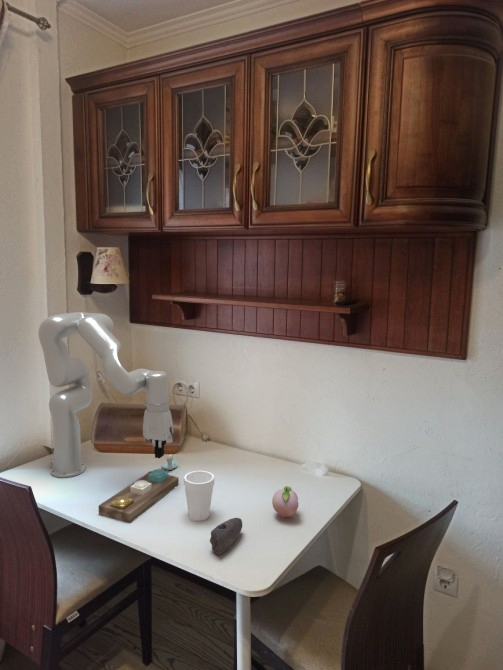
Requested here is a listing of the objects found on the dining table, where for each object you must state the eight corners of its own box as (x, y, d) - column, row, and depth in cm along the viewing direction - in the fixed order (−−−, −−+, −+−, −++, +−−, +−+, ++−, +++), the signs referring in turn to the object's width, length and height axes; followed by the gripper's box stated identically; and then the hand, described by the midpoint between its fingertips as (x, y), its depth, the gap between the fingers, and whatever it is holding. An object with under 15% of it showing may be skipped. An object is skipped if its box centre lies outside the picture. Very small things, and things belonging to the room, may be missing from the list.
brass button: (110, 511, 151) (110, 501, 151) (120, 504, 156) (120, 494, 155) (123, 515, 149) (123, 504, 149) (133, 507, 154) (133, 497, 153)
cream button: (130, 494, 160) (130, 484, 160) (139, 488, 165) (139, 478, 164) (142, 498, 158) (142, 487, 158) (151, 491, 163) (151, 481, 162)
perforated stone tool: (234, 529, 145) (234, 508, 144) (249, 534, 142) (249, 513, 141) (204, 554, 132) (204, 531, 131) (219, 561, 129) (219, 537, 128)
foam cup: (201, 526, 145) (201, 486, 143) (178, 517, 150) (177, 479, 148) (219, 513, 153) (220, 475, 151) (196, 505, 158) (197, 468, 156)
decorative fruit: (271, 508, 157) (272, 480, 155) (296, 509, 157) (297, 481, 155) (272, 524, 148) (272, 494, 146) (298, 525, 147) (299, 495, 146)
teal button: (148, 482, 169) (148, 473, 169) (156, 477, 174) (156, 467, 173) (160, 485, 167) (159, 475, 167) (167, 479, 172) (167, 470, 171)
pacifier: (155, 470, 184) (167, 474, 181) (155, 455, 183) (166, 458, 180) (168, 464, 190) (179, 467, 187) (167, 449, 190) (179, 452, 186)
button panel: (98, 514, 151) (98, 505, 151) (150, 478, 177) (150, 471, 176) (129, 523, 147) (129, 514, 146) (178, 485, 172) (178, 477, 172)
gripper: (133, 407, 166) (135, 457, 168) (170, 412, 160) (171, 464, 163) (146, 401, 173) (148, 449, 175) (181, 406, 167) (183, 456, 169)
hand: (159, 456), depth 169 cm, fingers closed
